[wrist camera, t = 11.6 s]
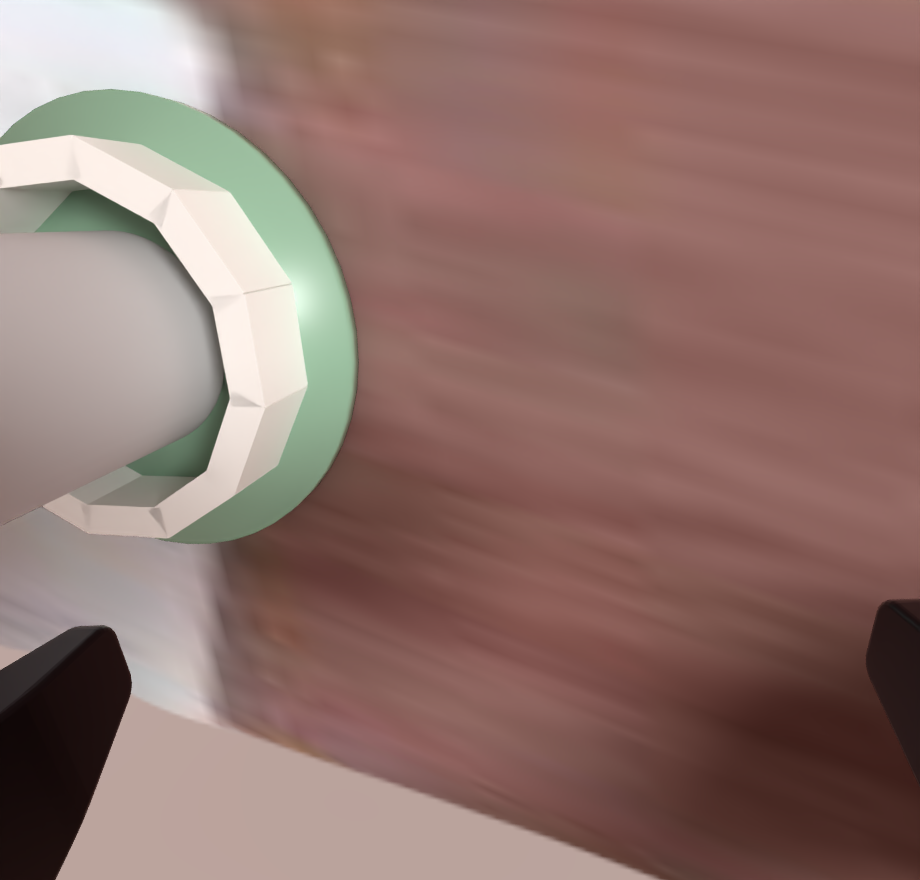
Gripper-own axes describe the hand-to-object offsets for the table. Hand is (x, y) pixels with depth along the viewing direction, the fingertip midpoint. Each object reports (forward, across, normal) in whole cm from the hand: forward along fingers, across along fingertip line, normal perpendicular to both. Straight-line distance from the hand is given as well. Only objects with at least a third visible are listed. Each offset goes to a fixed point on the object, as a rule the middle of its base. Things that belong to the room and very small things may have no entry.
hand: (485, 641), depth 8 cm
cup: (+14, +10, 0) cm, 17 cm away
